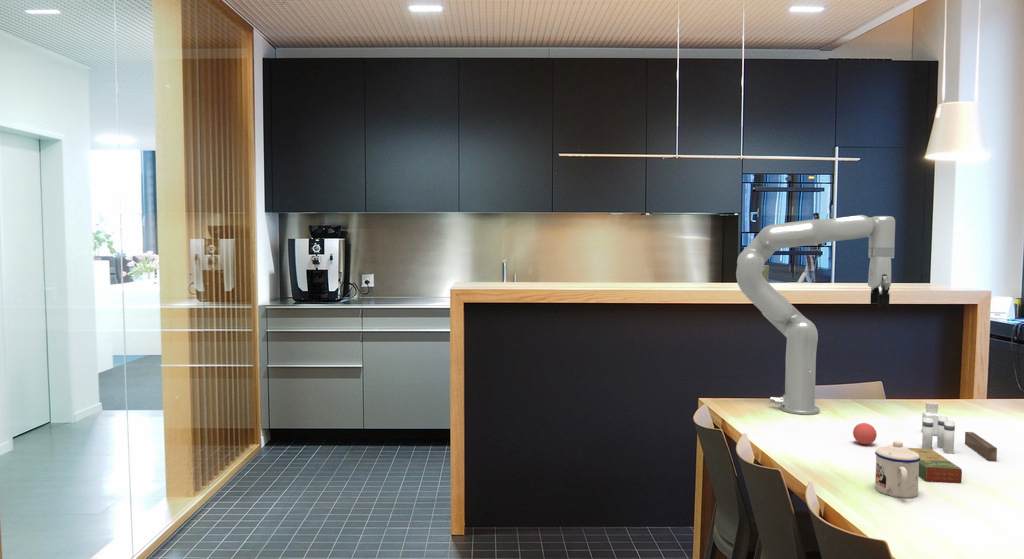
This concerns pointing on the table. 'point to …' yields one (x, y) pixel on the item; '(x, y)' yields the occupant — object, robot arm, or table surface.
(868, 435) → the ball
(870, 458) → the table surface
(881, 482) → the teacup with lid
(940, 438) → the pin rear left
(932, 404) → the salt shaker
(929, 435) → the pin front
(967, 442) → the rail
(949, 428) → the pin rear right
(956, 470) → the carton
